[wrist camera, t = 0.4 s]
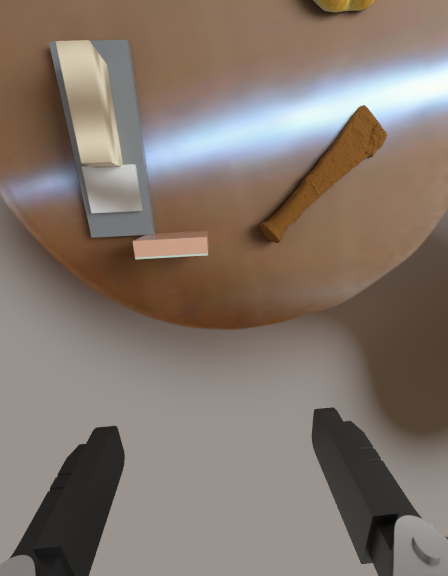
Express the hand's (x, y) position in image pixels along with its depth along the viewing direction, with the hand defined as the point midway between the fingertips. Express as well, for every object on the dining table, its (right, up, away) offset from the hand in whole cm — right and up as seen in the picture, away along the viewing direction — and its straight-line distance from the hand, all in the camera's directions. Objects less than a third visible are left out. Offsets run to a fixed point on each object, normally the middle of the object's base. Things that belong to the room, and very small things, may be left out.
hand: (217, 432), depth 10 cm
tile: (-6, +12, +23) cm, 27 cm away
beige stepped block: (-13, +23, +18) cm, 32 cm away
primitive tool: (+12, +20, +23) cm, 33 cm away
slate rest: (-13, +22, +20) cm, 33 cm away
